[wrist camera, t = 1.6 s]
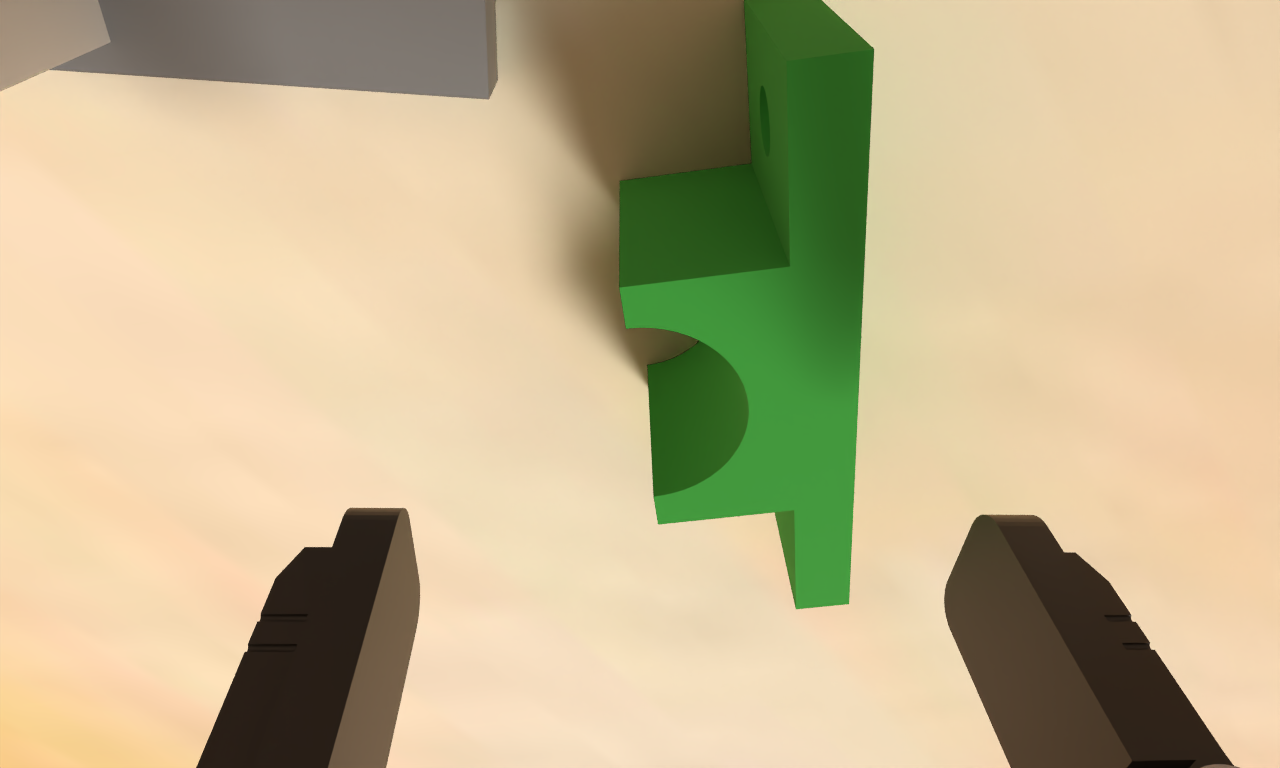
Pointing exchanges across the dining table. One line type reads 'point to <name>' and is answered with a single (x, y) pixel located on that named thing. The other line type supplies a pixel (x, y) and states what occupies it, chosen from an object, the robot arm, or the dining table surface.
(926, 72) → the dining table surface
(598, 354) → the dining table surface
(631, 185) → the pipe clamp
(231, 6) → the end holder
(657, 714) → the dining table surface
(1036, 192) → the dining table surface
